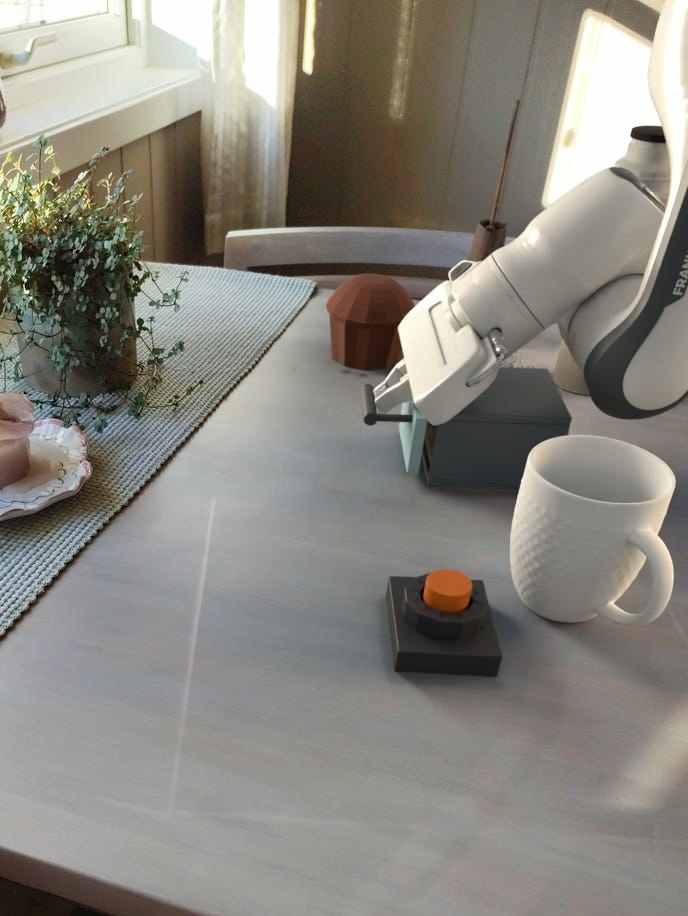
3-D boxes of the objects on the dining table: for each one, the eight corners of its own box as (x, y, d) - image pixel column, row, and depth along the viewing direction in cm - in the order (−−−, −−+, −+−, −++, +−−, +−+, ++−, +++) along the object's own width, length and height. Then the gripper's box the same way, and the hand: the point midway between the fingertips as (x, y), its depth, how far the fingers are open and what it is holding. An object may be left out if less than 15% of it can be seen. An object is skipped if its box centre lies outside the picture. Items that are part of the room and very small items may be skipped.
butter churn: (484, 358, 117) (534, 114, 99) (418, 341, 122) (454, 104, 104) (512, 336, 123) (564, 101, 105) (448, 320, 127) (487, 93, 109)
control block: (478, 600, 78) (487, 562, 75) (497, 677, 70) (508, 639, 68) (385, 595, 78) (391, 558, 76) (394, 672, 71) (401, 633, 68)
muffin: (312, 342, 122) (318, 266, 115) (390, 336, 123) (400, 260, 117) (337, 378, 113) (345, 298, 106) (421, 371, 114) (433, 292, 108)
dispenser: (427, 485, 93) (440, 413, 87) (416, 433, 102) (428, 364, 96) (551, 490, 92) (572, 417, 87) (530, 437, 101) (547, 368, 96)
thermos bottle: (613, 370, 114) (688, 121, 96) (625, 398, 108) (708, 137, 90) (548, 367, 115) (611, 119, 97) (556, 393, 109) (625, 135, 91)
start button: (465, 587, 73) (469, 570, 72) (471, 614, 71) (475, 597, 69) (420, 585, 74) (424, 568, 72) (425, 612, 71) (428, 595, 70)
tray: (359, 472, 93) (365, 416, 89) (354, 426, 101) (360, 372, 97) (519, 478, 92) (534, 422, 88) (502, 431, 100) (514, 377, 96)
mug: (689, 648, 73) (752, 511, 65) (582, 685, 70) (634, 546, 61) (565, 552, 83) (606, 423, 75) (467, 580, 80) (498, 449, 72)
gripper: (531, 381, 80) (404, 473, 87) (493, 299, 95) (388, 382, 102) (490, 330, 77) (363, 429, 84) (458, 254, 93) (353, 343, 100)
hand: (377, 403), depth 93 cm, fingers closed, pressing on tray
